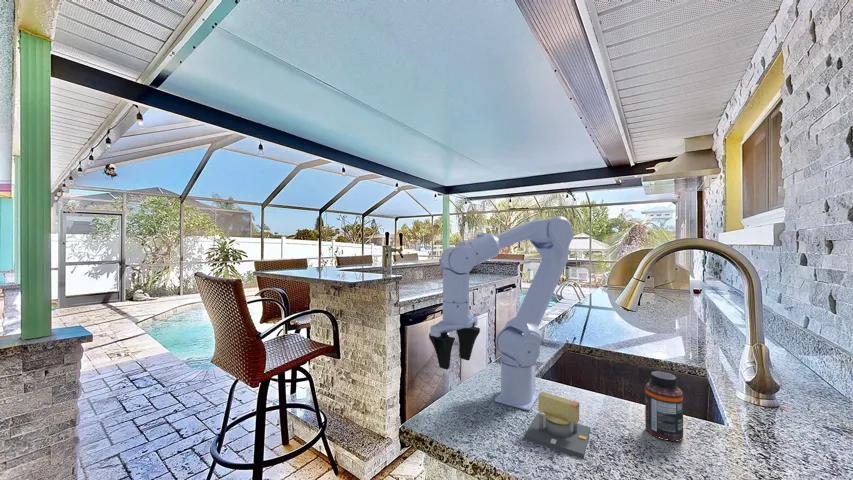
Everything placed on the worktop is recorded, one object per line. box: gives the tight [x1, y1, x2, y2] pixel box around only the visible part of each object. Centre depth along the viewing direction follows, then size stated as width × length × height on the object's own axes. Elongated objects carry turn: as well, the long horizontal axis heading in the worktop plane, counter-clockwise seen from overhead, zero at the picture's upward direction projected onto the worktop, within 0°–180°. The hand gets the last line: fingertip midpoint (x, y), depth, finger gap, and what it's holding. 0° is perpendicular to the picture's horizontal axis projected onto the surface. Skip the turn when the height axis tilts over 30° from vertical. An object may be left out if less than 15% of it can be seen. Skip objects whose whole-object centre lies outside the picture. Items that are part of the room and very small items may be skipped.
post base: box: [523, 412, 591, 460], centre depth 62 cm, size 10×10×3 cm
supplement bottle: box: [644, 370, 684, 441], centre depth 64 cm, size 6×6×11 cm
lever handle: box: [537, 391, 580, 426], centre depth 63 cm, size 7×5×4 cm
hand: (455, 363), depth 72 cm, fingers open, 7 cm apart
